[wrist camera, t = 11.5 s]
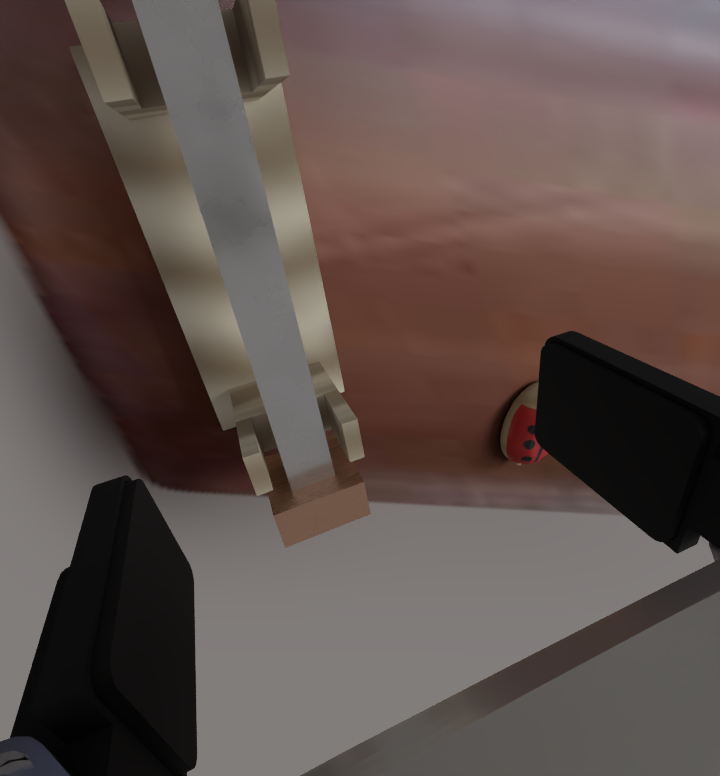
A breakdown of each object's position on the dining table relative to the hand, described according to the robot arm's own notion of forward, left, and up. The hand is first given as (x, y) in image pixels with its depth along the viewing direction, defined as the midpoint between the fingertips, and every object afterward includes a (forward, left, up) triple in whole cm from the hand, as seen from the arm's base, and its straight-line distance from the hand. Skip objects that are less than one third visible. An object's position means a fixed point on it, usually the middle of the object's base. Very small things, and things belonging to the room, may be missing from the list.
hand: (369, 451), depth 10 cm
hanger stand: (0, -1, -23) cm, 23 cm away
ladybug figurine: (+23, +24, -24) cm, 41 cm away
